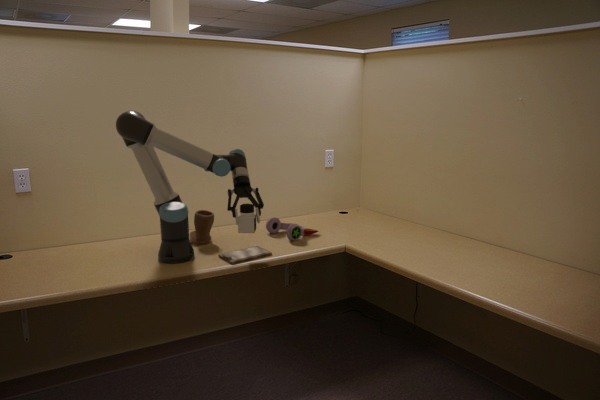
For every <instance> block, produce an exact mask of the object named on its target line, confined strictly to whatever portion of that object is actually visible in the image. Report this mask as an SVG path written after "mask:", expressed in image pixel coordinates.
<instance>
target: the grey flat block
mask: <svg viewBox="0 0 600 400" xmlns="http://www.w3.org/2000/svg"><path fill="white" fill-rule="evenodd" d="M217 255H218V258H220V259H221V260H223V261H225V262H227V263H229V264H230V265H236V264H239V263H243V262H244V263H245V262H248V261H252V260H256V259H261V258H265V257H269V256H272V255H273V252H271V251H269V250H268V249H265V248H262V246H261V247H260V246H259V245H254V246H251V247H246V248H241V249H237V250H233V251H228V252H224V253H219V254H217Z"/></svg>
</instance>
